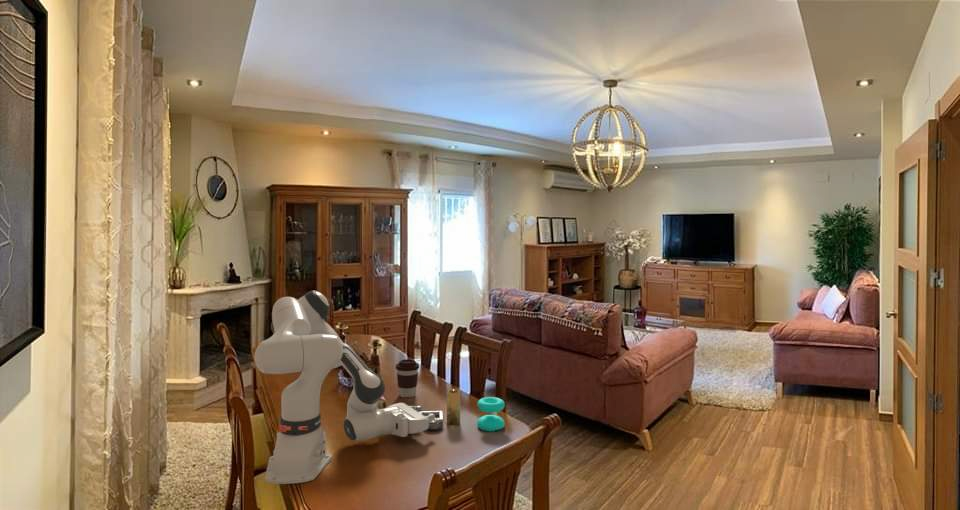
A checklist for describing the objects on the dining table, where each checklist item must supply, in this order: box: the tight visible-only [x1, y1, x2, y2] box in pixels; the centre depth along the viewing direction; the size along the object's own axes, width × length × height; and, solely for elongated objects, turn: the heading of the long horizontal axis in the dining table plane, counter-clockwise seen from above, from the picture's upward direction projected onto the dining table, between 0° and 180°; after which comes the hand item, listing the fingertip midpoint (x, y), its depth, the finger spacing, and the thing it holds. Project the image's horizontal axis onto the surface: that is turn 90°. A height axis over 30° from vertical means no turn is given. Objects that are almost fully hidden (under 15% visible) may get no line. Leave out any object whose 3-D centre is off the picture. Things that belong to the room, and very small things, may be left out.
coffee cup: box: [395, 358, 420, 399], centre depth 225 cm, size 10×10×15 cm
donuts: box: [476, 396, 506, 432], centre depth 190 cm, size 10×10×10 cm
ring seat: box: [419, 410, 444, 422], centre depth 198 cm, size 9×9×1 cm
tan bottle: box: [446, 388, 461, 426], centre depth 193 cm, size 5×5×13 cm
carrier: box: [425, 418, 444, 433], centre depth 191 cm, size 12×7×2 cm, turn 5°
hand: (427, 412), depth 187 cm, fingers open, 8 cm apart
